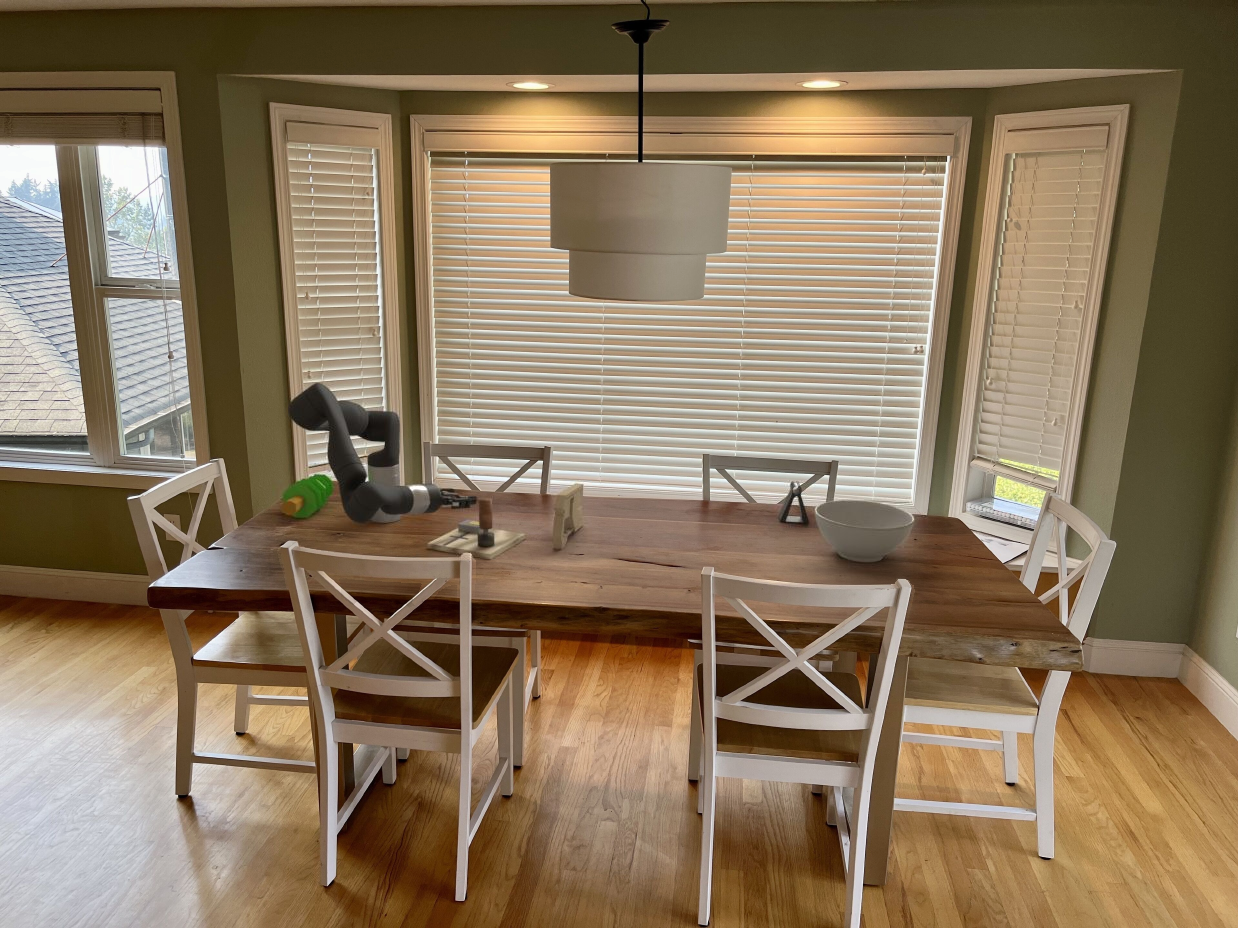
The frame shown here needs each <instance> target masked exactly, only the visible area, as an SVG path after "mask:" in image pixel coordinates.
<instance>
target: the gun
mask: <svg viewBox="0 0 1238 928" xmlns="http://www.w3.org/2000/svg"><path fill="white" fill-rule="evenodd" d="M583 498H584V483H578V482H576V483H574V484H572V485H571V486H570V487H568V488H566V489H564V490H562V491H561V492H559V493H558V494H556V498H555V502H554V507H553V510H554V511H555V512H554V518H553V526H552V527H553V528H552V535H551V536H552V546H553V547H552V548H553V549H555V550H563V549H564V548H565V546H566V544H567V542H568V537H569V536H570V535H571V534H575V533H576V532H577V531H578V530H579V529H580V528H582V526H584V522H583V506H582V499H583Z"/></svg>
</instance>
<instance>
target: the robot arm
mask: <svg viewBox="0 0 1238 928" xmlns="http://www.w3.org/2000/svg"><path fill="white" fill-rule="evenodd" d="M287 411H288V416H289V417H290V419H291V420H292V421H293V422H294V424H296V425H297V426H299V427H300V428H302V429H304V430H307V431H310V432H311V431H312V432H328V440H327V441H328V443H327V453H326V454H327V461H328V464H329V467H330V469H331V471H332V473H333V475H334V477H335V480H336V481H337V483H338V487H339V494H340V495H339V496H340V499H341V500H340V501H341V505H342V507H343V510H344V513H345V514H346V515H347V517H348V518H349V519H350V520H351V521H353V522H354V523H355V524H356V523H357V524H361V525H362V524H367V523H368V522H370V521H371V522H373V523H380V524H382V523H383V524H384V523H385V524H386V523H388V524H389V523H395V522H397V521H399V520H401V519H402V515H423V514H434V513H436V512H437V511H438V510H439V509H440V508H446V507H448V508H449V507H450V509H452V510H459V509H460V510H461V509H470V508H471V506H473V505H476V504H477V500H478V497H477V496H476V495H460V494H459V493H455V489H454V488H452V487H451V488H442V487H438V486H437V485H436V484H433V483H416V484H415V483H412V484H407V485H401V477H400V476H401V475H400V472H401V471H400V454H401V453H400V452H401V445H400V444H401V422H400V417H399V415H398V413H397V412H395V411H390V410H387V411H385V410H366V408H364V406H362V405H361V404H358V403H356V402H353V401H350V400H338V398H337V397H336V395H335V394H334V392H333V391H332V390H331V389H330V388H329V387H327V386H326V385H325V384H323V383H321V382H315V383H313V384H311V385H310V386H308V387H307V388H306V389H305V390H303V391H302V392H300V393H299V394H297V396H295V397H294V398H293V399H292V400H291V401H290V402H289V403H288V406H287ZM355 436H357V437H359V438H361V439H363V440H365V441H368V442H377V443H384V445H383V449H380V450H377V451H374V452H371V453H369V454H368V455H367V458H366V459H367V460H366V461H367V470H366V468H365V466H364V464H363V463H362V460H361V459H360V457H359V455H358V453H357V451H356V449H355V446H354V444H353V441H352V439H351V437H355ZM367 477H368V480H367ZM453 497H454V498H453Z"/></svg>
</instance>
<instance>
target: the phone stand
mask: <svg viewBox="0 0 1238 928" xmlns="http://www.w3.org/2000/svg"><path fill="white" fill-rule="evenodd" d="M796 484H797V485H796ZM796 486H797V487H796ZM789 487H790V489H789V491H788V493H787V495H786V498H785V500H784V503H783V504H782V506H781V509H780V511H779V513H778V520H779V522H780V523H783V524H784V523H788V524H794V523H795V524H807V525H808V524H810V520H809V517H808V514H807V511H806V508H805V504H804V500H803V497H802V489H803V488H802V486H801V485H800V482H799V481H798V480H796V483H795V480H792V481H791V482H790V484H789ZM795 497H797V501H798V506H799V511H800V516H793V515H791V516H790V515H789V513H790V510H791V508H792V504H793V502H794V499H795Z"/></svg>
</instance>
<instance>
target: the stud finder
mask: <svg viewBox="0 0 1238 928" xmlns="http://www.w3.org/2000/svg"><path fill="white" fill-rule="evenodd" d="M457 528H458V531H464V532H470V533H476V534H478V533H481V532H483V529H480V528H479V520H473V519H467V518H466V519H465V520H463V521H461V522H458V524H457Z"/></svg>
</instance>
